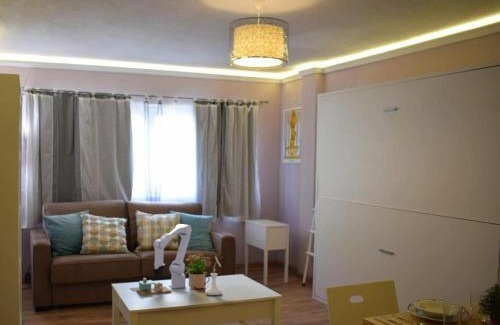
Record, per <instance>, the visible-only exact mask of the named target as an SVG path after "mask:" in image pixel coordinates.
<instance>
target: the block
mask: <svg viewBox="0 0 500 325" xmlns="http://www.w3.org/2000/svg"><path fill="white" fill-rule="evenodd" d="M154 283H155V284H153V286H154V287H153V288H154V290H155V291H161V290H163V287H164V286H163V285H164V284H163V282H161V281H159V282H158V281H156V282H154Z"/></svg>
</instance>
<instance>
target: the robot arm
mask: <svg viewBox="0 0 500 325" xmlns="http://www.w3.org/2000/svg"><path fill="white" fill-rule="evenodd" d="M192 231H193V229H192V227H191V224H182V223H178V224H176V225H175V228H174V229H173V230H171V231H170V232H169V233H164V234H163V235H162V236H160V237H159V238H158V239H155V240H154V241H153V243H152V244H153V248H154V264H153V265H154V267H153V268H152V272H153V273H154V278H155V280H159V279H160V277H163V272H164V269H165V267H166V266H165V265H166V263H164V251H165V250H164V249H165V248H166V245H167V244H169V243H170V242H172V240H173V237H175V236H177V235H179V236H180V238H181V240H180V243H179V247H178V249H177V253H176V257H175V259H173V261H171V264H170V265H169V267H168V268H169V272H170V275H171V284H169V286H168V287H170V288H172V289H181V288H186V278H187V277H186V274H185V268H186V264H185V262H184V260H185V255H186V252H187V249H188V246H189V242H190V239H191V234H192Z"/></svg>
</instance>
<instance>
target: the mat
mask: <svg viewBox="0 0 500 325" xmlns="http://www.w3.org/2000/svg"><path fill="white" fill-rule="evenodd" d="M129 289H130V290H131V291H132V292H137V289H139V286H138V287H137V286H136V287H129Z"/></svg>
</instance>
